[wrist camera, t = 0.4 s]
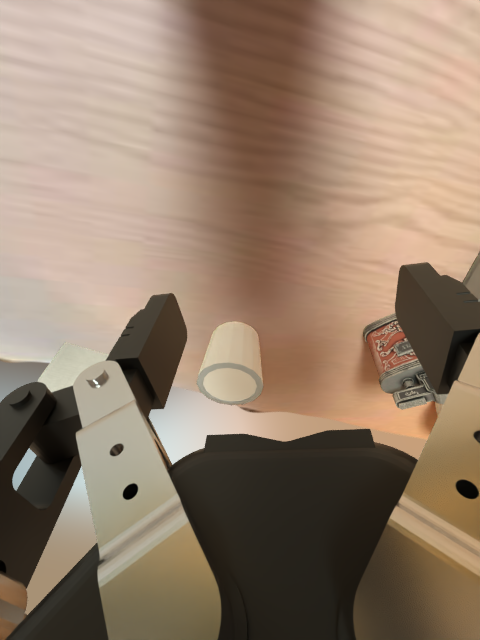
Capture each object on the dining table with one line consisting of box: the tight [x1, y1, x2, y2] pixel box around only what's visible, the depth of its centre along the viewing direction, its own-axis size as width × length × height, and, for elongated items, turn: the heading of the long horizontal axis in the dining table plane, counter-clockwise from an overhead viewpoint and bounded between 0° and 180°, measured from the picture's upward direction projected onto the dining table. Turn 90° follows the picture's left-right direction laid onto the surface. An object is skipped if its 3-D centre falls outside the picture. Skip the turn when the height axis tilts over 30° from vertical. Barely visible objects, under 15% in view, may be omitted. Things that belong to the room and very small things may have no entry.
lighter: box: [363, 313, 448, 409], centre depth 30 cm, size 8×3×10 cm, turn 122°
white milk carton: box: [38, 342, 109, 392], centre depth 38 cm, size 4×7×10 cm, turn 70°
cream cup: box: [197, 321, 263, 405], centre depth 35 cm, size 7×7×7 cm
